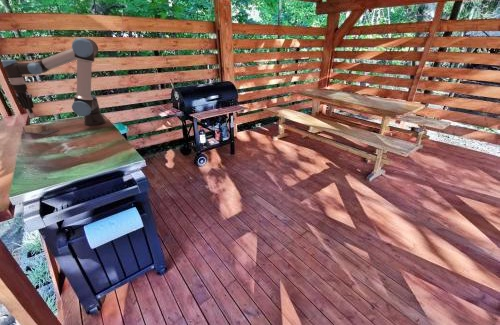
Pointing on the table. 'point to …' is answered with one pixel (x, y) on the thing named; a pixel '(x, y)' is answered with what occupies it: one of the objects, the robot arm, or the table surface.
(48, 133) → the mat
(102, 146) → the table surface
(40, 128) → the slab
